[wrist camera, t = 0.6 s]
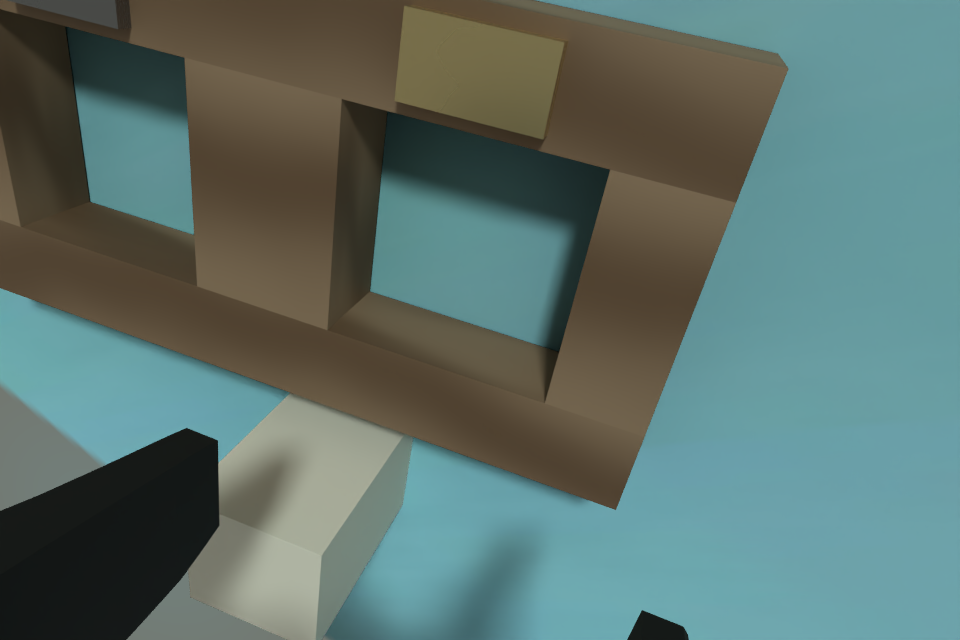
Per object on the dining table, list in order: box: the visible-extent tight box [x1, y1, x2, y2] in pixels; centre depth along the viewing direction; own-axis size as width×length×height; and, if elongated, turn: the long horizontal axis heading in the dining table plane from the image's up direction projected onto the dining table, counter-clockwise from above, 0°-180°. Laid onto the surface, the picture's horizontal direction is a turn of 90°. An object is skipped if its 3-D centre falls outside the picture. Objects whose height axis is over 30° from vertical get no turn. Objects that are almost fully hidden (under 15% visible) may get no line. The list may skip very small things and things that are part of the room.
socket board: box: [0, 0, 788, 510], centre depth 17 cm, size 11×21×2 cm, turn 80°
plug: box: [188, 393, 413, 640], centre depth 20 cm, size 4×4×6 cm
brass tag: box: [394, 5, 568, 139], centre depth 13 cm, size 2×3×1 cm, turn 80°
